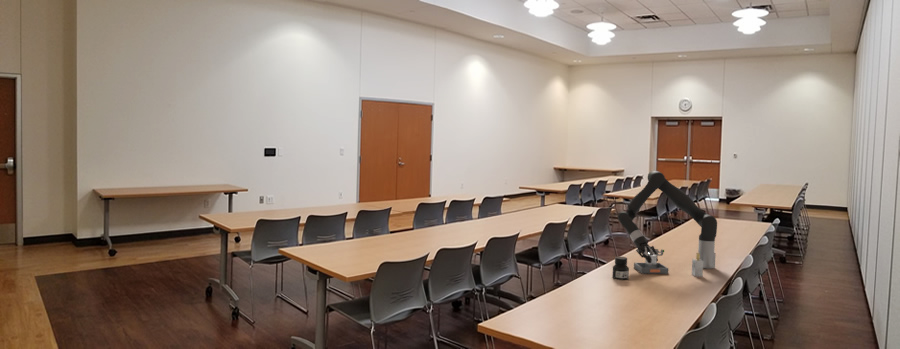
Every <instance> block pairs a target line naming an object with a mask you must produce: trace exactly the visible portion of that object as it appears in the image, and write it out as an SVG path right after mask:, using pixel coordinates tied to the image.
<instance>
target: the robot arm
mask: <svg viewBox="0 0 900 349" xmlns="http://www.w3.org/2000/svg"><path fill="white" fill-rule="evenodd" d="M647 181H648V182H647V183H646V185H645V186H644V188H642V189H641V190H640V191H639V192H638V193H637V194H636V195H635V196H634V197H633V198H632V199H631V201H630V202H629V203H628V204H627V210H626V211H620V212H618V215H617V220H618V221H619V223H620V225H621V226H622V227H623V228H624V229H625V231H626V232H627V234H628V235H629V237H630V239H631V241H632V242H633V244H634V245H635V247H636V248H637V249H636V250H635V251H636V252H637V254H638V255H639V256H640V257H641V258H644V259H645V260H647V262H648V263H650V262H651V259H650V258H649V256H648V254H651V253H652V254H654V255H656V254H657V253H656V250H655V249H656V248H655V246H654V245H652V246H650V245H649V243H648V242H649V241H648V240H647V238H646V237H645V235H644V234H643V232H642V231H641V229H640V228H639V227H638V224H636V223H635V222H634V219H635V217H636V216H637V213H638V212H639V210H640V209H641V207H643V205H644V204H645V202H646V201H647V200H648V199H649V198H650V197H651V196H652V195H653V193H655V192H656V191H657V190H659V191H661V192H662V193H663V194H664V195H665V196H666V198H668V199H669V201H671V203H673V204H674V205H675V206H676V207H677V208H678V209H679V210H681V211H682V212H684V213H685V214H687V215H688V216H689V217H691V218H692V219H693V220H694V221H695V223H697V224H698V226H699V227H701V228H700V230H701V231H700V234H699V235H698V248H697V251H698V252H697V253H700V259H701V260H703V269H706V270H707V269H709V270H710V269H715V268H716V257H717V256H716V255H717V254H716V252H715V244H716V243H715V242H716V238H717V231H718V221H717V219H716V217H715V216H713V215H710V214H708V213H707V212H705V211H704V210H703V209H701V208H699V206H698V205H697V204H696V202H694V201H693V199H692V198H691V197H690V196H689V195H688V194H687V193H685V192H684V191H683V190H681V189H680V188H678V187H677V186H676V185H674V184H672V183H671V182H669V180H668V179H666V177H665V175H664V174H663V173H662V172H661V171H658V170H651V171H650V172H649V173H647ZM650 251H651V252H650ZM649 252H650V253H649ZM658 261H659V259H658V258H657V262H658Z"/></svg>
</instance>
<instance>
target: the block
mask: <svg viewBox="0 0 900 349" xmlns="http://www.w3.org/2000/svg"><path fill="white" fill-rule="evenodd" d="M647 254H648V253H647ZM648 256H649V258H650V259H651V262H650V263H648V262H647V260H646V259H645V260H644V261H645V262H644V263H645V268H656V262H657V263H658V261H657V259H658V258H657V255H654V254H648Z"/></svg>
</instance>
